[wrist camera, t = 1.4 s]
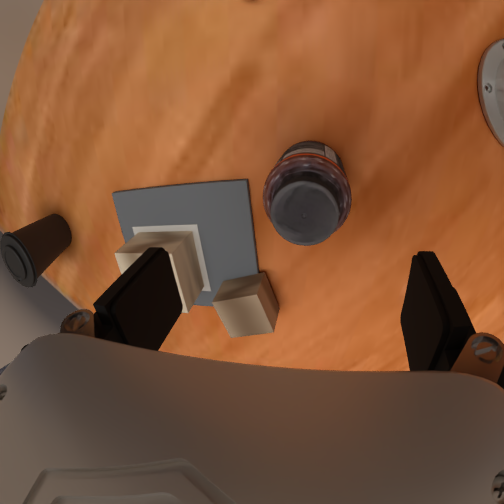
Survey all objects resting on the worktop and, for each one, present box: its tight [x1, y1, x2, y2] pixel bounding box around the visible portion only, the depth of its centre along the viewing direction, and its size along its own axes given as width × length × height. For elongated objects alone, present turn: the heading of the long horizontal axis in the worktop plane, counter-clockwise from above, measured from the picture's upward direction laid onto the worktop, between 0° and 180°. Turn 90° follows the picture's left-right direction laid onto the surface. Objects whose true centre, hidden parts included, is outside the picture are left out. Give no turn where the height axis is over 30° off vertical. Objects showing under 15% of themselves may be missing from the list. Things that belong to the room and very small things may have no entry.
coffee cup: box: [0, 214, 72, 287], centre depth 33 cm, size 8×8×10 cm
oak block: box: [212, 272, 279, 338], centre depth 32 cm, size 5×5×4 cm
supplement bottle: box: [263, 141, 352, 246], centre depth 22 cm, size 6×6×11 cm
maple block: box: [115, 231, 204, 313], centre depth 32 cm, size 7×7×5 cm
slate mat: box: [112, 179, 259, 306], centre depth 33 cm, size 16×15×1 cm
